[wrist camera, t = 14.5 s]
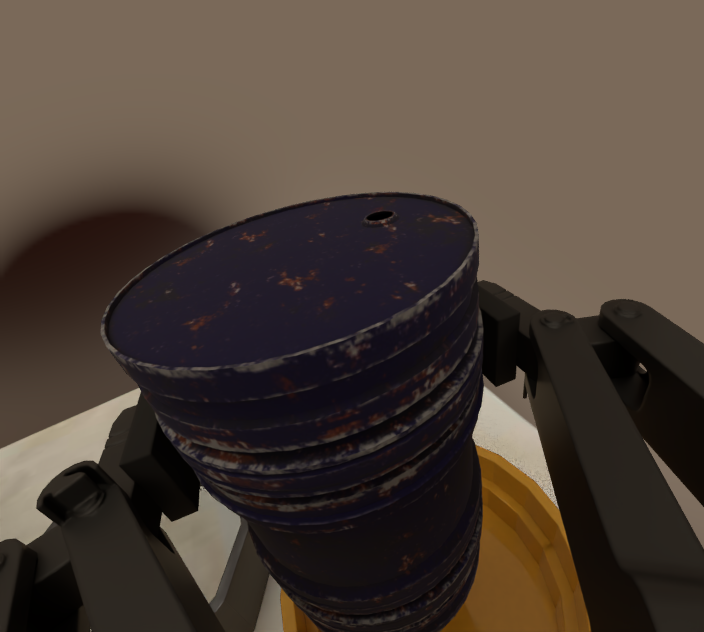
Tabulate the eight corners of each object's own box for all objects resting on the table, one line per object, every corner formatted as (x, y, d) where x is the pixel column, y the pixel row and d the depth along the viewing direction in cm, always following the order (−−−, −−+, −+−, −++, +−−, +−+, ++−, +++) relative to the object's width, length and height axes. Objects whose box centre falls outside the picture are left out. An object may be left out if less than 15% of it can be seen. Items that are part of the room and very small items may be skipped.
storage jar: (330, 729, 12) (39, 496, 4) (260, 498, 20) (112, 262, 12) (533, 556, 15) (593, 225, 7) (403, 414, 23) (361, 179, 15)
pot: (193, 862, 16) (135, 865, 13) (-68, 796, 19) (-156, 788, 17) (300, 456, 33) (284, 422, 30) (151, 459, 36) (125, 428, 34)
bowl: (541, 985, 12) (561, 1028, 10) (255, 643, 22) (221, 611, 19) (607, 552, 22) (626, 507, 19) (390, 446, 32) (381, 405, 29)
